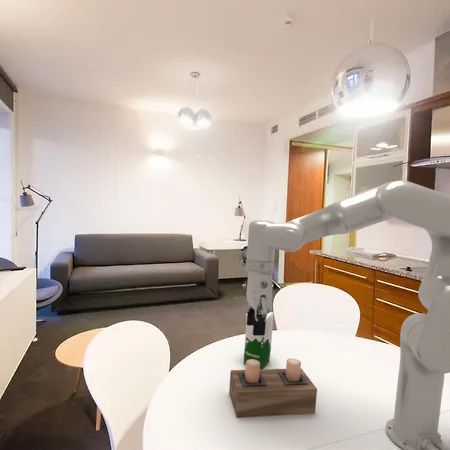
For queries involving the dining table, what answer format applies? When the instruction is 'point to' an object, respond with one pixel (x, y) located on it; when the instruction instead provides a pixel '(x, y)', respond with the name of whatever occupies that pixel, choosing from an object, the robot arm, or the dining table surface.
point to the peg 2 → (293, 370)
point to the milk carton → (259, 342)
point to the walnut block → (271, 394)
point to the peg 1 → (252, 371)
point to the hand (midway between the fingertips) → (255, 329)
